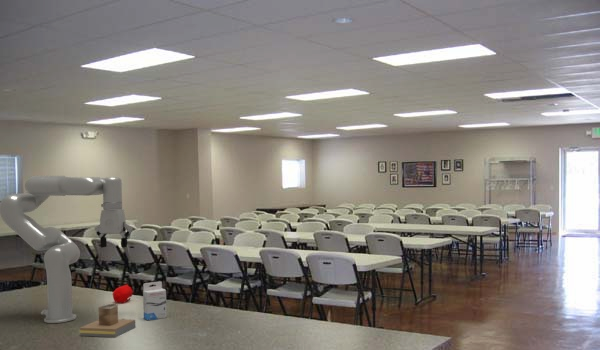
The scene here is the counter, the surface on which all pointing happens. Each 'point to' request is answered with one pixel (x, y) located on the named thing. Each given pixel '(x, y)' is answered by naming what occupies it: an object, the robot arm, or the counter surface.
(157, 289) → the ink box
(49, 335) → the counter surface
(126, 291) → the red animal figurine
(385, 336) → the counter surface
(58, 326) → the counter surface
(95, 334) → the dock
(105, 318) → the brown wooden block
